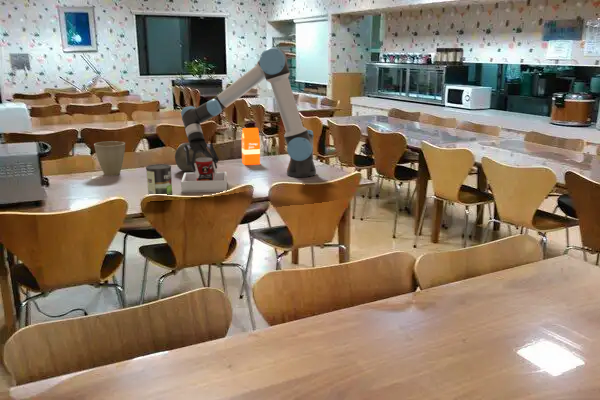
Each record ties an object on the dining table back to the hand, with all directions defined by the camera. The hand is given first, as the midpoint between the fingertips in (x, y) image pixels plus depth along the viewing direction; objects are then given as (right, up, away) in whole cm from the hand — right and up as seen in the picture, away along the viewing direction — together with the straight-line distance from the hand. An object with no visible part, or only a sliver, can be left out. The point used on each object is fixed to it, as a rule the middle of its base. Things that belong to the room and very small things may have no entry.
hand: (206, 175), depth 244 cm
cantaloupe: (-16, +4, +36) cm, 39 cm away
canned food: (-2, -3, +4) cm, 5 cm away
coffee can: (-17, -11, -15) cm, 25 cm away
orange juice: (+15, +9, +57) cm, 60 cm away
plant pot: (-53, +2, +29) cm, 61 cm away
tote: (-2, -5, +5) cm, 7 cm away
